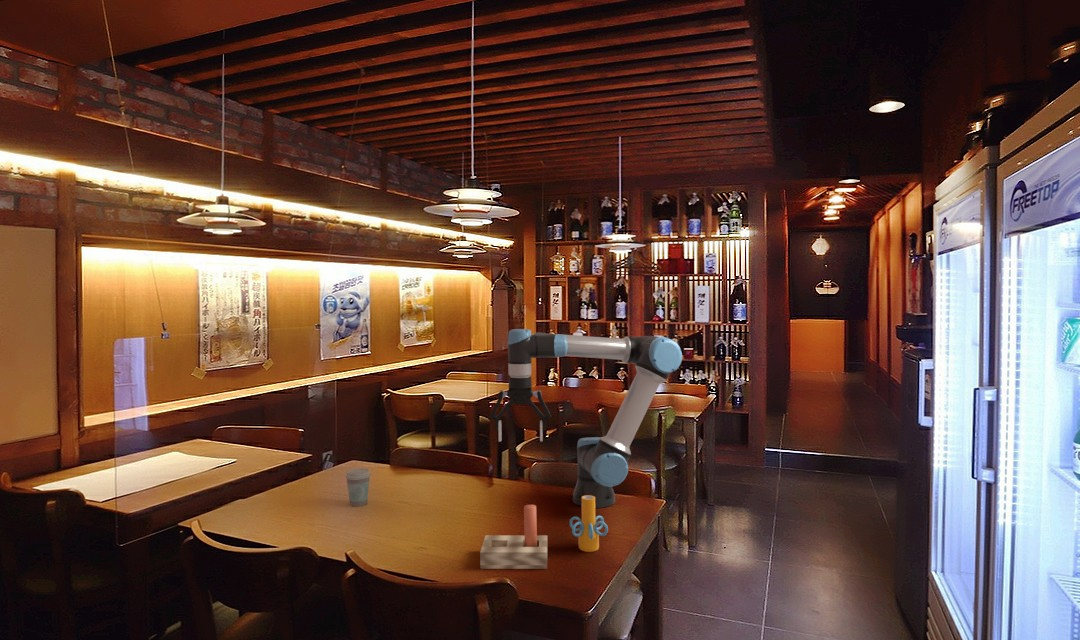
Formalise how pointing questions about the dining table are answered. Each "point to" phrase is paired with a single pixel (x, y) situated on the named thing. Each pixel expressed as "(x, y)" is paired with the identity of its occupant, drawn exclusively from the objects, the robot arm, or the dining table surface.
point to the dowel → (530, 526)
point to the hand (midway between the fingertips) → (520, 440)
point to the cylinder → (588, 526)
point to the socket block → (513, 553)
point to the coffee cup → (358, 486)
